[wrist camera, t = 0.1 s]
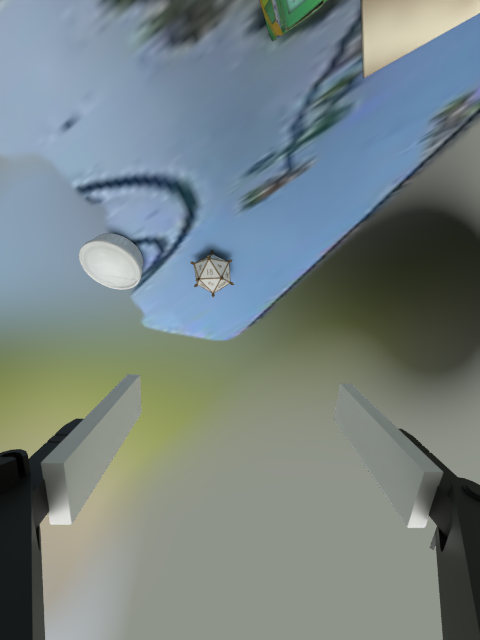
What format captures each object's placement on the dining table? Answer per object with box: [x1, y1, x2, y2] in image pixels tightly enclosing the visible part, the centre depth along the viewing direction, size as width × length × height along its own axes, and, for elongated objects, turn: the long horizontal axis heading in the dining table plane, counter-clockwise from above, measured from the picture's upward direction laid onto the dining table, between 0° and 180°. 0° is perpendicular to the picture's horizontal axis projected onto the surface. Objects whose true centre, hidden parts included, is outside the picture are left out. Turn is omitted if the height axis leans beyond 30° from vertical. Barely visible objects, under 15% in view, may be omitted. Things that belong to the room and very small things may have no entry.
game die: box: [191, 251, 234, 297], centre depth 46 cm, size 9×8×10 cm
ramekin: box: [79, 233, 143, 289], centre depth 45 cm, size 11×11×5 cm
